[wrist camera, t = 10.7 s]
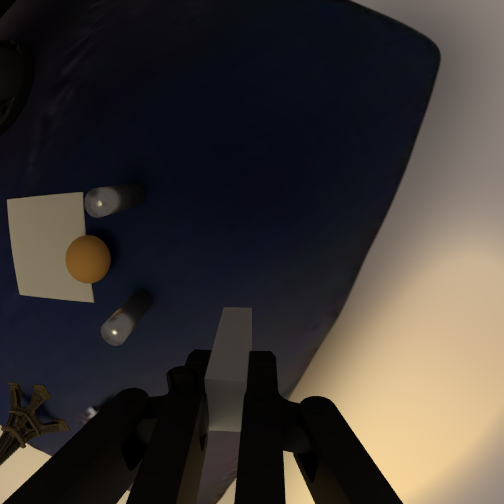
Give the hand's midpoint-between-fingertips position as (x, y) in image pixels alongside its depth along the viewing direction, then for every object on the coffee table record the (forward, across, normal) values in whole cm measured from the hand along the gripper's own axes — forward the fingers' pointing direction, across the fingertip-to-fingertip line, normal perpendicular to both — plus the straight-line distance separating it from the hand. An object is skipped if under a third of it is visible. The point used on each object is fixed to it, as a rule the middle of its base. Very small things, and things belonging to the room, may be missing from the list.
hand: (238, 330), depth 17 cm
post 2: (+18, -13, -6) cm, 23 cm away
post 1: (+18, -13, +6) cm, 23 cm away
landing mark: (+18, -27, 0) cm, 33 cm away
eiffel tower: (+19, -39, -30) cm, 53 cm away
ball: (+16, -18, 0) cm, 24 cm away
